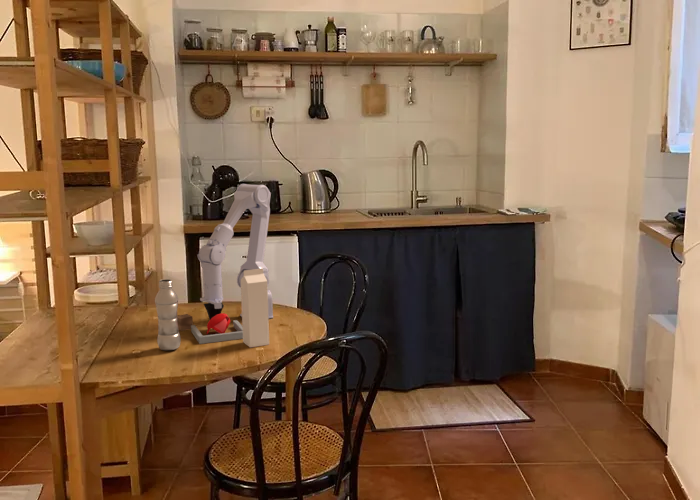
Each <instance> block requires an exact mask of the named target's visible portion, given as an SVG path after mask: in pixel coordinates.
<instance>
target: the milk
mask: <svg viewBox="0 0 700 500" xmlns="http://www.w3.org/2000/svg"><path fill="white" fill-rule="evenodd" d="M268 290H269V289H268V288H267V280H266V278H265V276H264V274H263V269H253V270H244V276H243V277H242V279H241V288H240V295H241V296H240V297H241V299H240V300H241V314H242V317H241V319H242V320H241V325H242V327H243V339H242V342H243V343H244V344H245V345H246V346H248V347H249V348H255V347H261V346H269V345H270V329H269V328H270V327H269V326H270V325H269V322H270V321H269V319H270V318H268Z"/></svg>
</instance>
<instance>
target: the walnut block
mask: <svg viewBox="0 0 700 500" xmlns="http://www.w3.org/2000/svg"><path fill="white" fill-rule="evenodd" d="M177 323H178V330H179V332H180V331H181V332H182V331H187V330H191V325H194V322H193V316H192V315H190V314H188V313H184V314H179V315H178V314H177Z"/></svg>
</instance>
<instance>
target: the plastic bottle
mask: <svg viewBox="0 0 700 500" xmlns="http://www.w3.org/2000/svg"><path fill="white" fill-rule="evenodd" d="M158 288H159V290H158V292H157V293H156V294H155V295H156V296H155V297H154V303H155V308H156V313H157V321H158V325H157V327H158V329H157V330H158V334H157V339H156V341H157V346H158V348H159V349H160V350H162V351H174V350H177V349H178V348H179V347H180V346H181V335H180V330H178V323H177V316H178V307H179V306H178V304H179V297H178V295H177V294H176V292H175V290H174V289H173V280H172V279H170V278H169V279H167V278H166V279H159V281H158Z"/></svg>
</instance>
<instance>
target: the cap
mask: <svg viewBox="0 0 700 500" xmlns="http://www.w3.org/2000/svg"><path fill="white" fill-rule="evenodd" d="M231 321H232V320H231V318H230V317H229V316H228V314H227V313H223V312H221V313H220V314H217V315H215V316H214V317H212V318H211V319H210V320H209V319H208V322H207V325H206V328H207V330H206V335H209V332H210V331H211V329H212V330H214V331H215V332H216V333H218V334H222V333H226V331H227V329H228V327H229V326H230V324H231Z"/></svg>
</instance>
